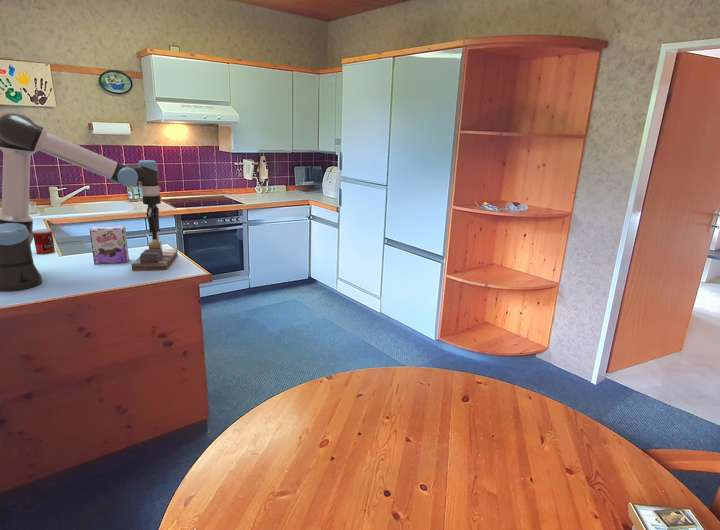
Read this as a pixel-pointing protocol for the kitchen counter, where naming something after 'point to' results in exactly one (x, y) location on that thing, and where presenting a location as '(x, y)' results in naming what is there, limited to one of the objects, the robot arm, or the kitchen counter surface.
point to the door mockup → (154, 260)
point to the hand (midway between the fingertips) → (156, 245)
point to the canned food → (43, 241)
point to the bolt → (155, 245)
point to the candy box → (109, 245)
